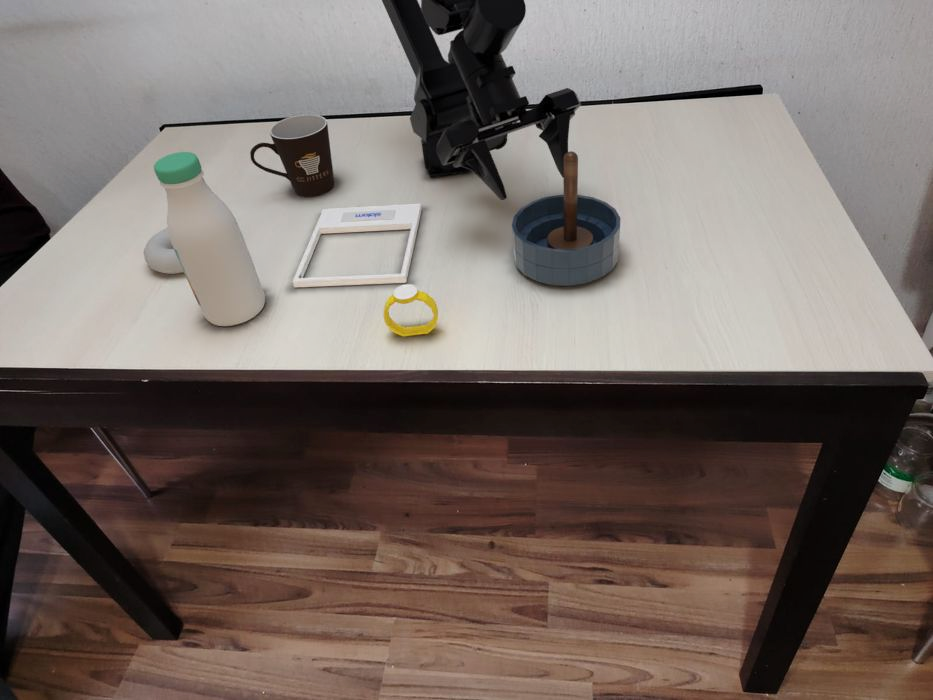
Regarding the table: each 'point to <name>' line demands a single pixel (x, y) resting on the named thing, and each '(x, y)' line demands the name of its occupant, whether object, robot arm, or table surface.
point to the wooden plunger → (570, 212)
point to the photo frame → (359, 222)
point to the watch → (405, 296)
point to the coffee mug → (302, 153)
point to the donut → (162, 254)
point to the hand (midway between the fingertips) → (535, 187)
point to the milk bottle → (208, 243)
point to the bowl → (565, 263)
